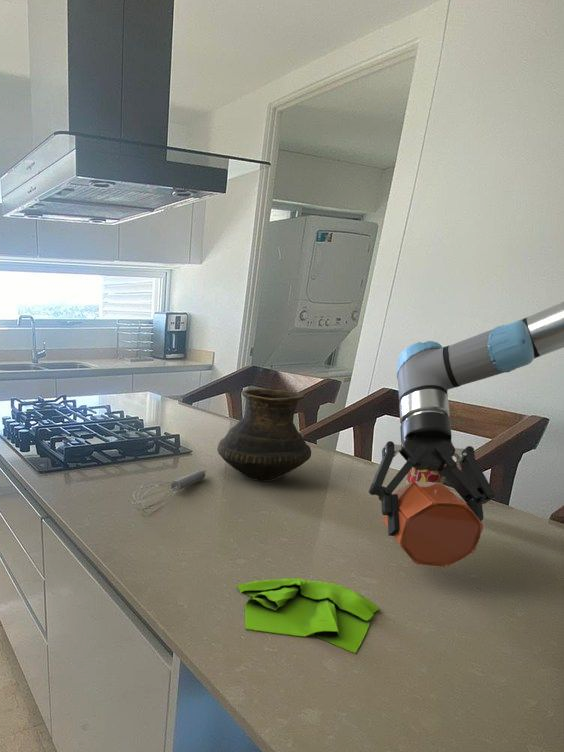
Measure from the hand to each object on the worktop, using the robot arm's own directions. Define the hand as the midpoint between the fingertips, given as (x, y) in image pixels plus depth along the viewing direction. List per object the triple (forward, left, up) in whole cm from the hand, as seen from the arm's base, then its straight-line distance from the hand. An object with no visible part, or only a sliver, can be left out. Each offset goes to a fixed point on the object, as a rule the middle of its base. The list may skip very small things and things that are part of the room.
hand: (433, 536), depth 79 cm
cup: (+1, -3, -4) cm, 5 cm away
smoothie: (+4, -44, -9) cm, 45 cm away
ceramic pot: (+42, -40, -9) cm, 59 cm away
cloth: (+14, +19, -9) cm, 26 cm away
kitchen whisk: (+54, -12, -9) cm, 56 cm away
